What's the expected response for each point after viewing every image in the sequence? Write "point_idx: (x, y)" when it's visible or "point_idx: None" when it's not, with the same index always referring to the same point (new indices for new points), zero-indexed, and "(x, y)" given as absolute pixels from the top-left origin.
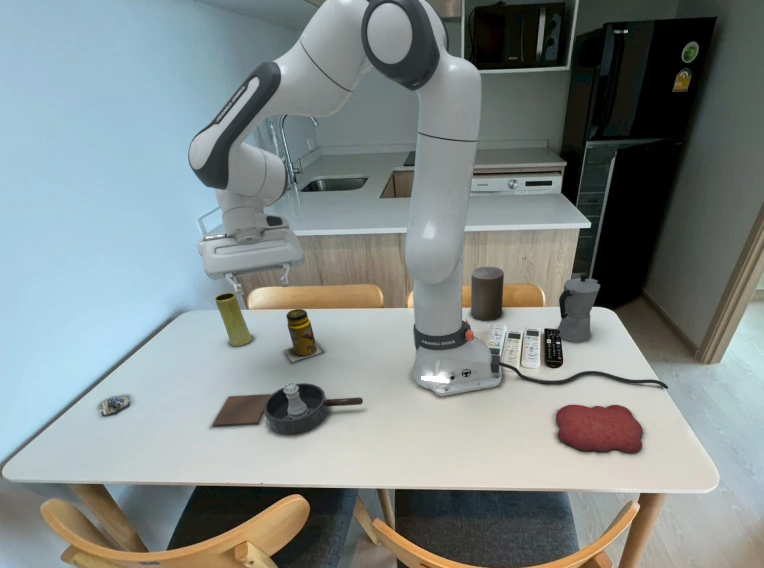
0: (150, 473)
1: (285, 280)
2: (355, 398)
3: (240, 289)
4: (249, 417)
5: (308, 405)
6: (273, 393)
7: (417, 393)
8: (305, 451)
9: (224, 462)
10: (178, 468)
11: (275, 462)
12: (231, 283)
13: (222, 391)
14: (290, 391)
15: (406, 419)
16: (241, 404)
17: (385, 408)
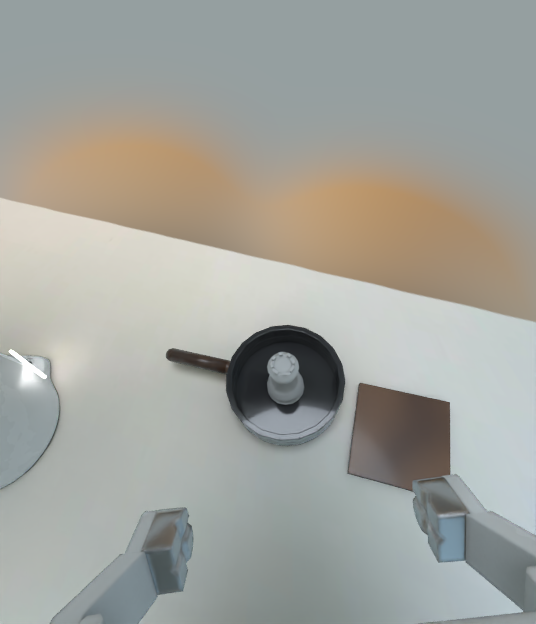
0: (508, 320)
1: (153, 521)
2: (176, 353)
3: (428, 483)
4: (378, 401)
5: (267, 406)
6: (330, 418)
7: (75, 381)
8: (277, 303)
9: (395, 312)
10: (465, 318)
11: (318, 294)
12: (507, 522)
13: None
14: (283, 353)
15: (124, 325)
16: (407, 453)
17: (141, 358)
